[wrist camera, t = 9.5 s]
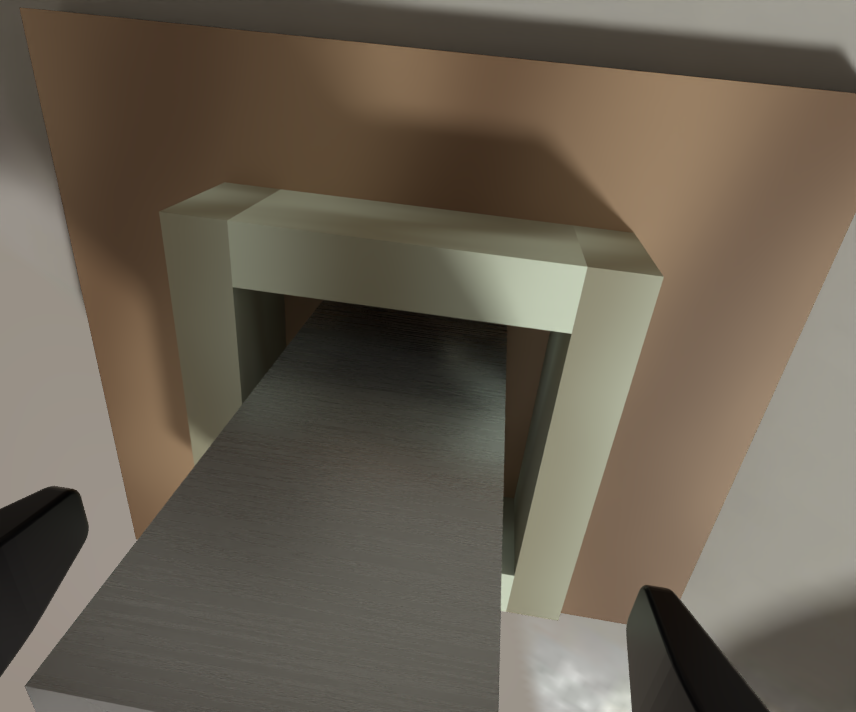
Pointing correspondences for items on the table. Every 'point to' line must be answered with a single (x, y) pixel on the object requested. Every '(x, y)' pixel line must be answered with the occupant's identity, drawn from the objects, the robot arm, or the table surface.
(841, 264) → the table surface
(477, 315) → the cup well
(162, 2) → the table surface
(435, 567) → the grey tall block
